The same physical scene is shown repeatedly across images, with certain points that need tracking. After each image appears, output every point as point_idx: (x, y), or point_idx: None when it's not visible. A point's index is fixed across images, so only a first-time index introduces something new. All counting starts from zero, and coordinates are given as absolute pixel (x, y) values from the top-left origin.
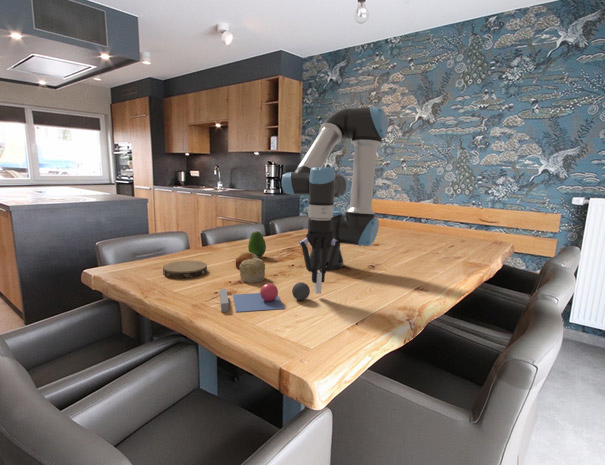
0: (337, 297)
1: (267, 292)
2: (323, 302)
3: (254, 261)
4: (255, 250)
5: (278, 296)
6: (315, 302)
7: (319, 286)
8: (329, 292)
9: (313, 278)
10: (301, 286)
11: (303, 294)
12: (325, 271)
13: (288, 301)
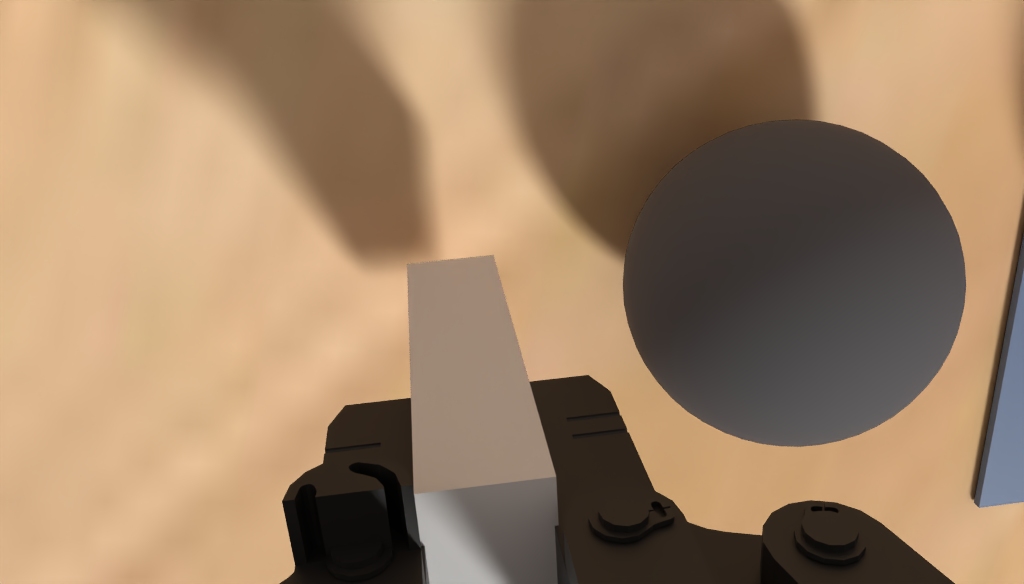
0: (100, 290)
1: None
2: (389, 83)
3: None
4: None
5: (1010, 350)
6: (526, 96)
7: (451, 317)
8: (208, 498)
9: (615, 431)
10: (878, 228)
11: (789, 124)
12: (299, 535)
13: (926, 175)
